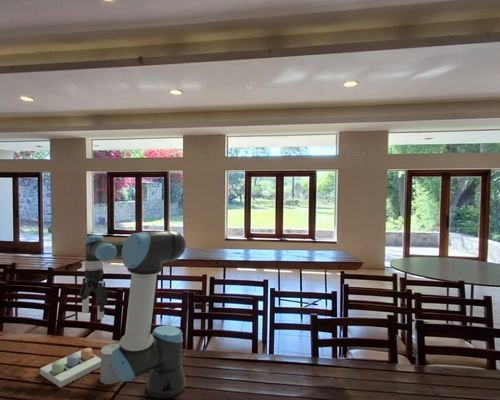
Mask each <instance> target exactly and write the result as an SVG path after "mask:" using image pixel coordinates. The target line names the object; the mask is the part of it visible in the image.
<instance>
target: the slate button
mask: <svg viewBox="0 0 500 400" xmlns="http://www.w3.org/2000/svg"><path fill="white" fill-rule="evenodd" d="M67 356H68V357H67ZM67 356H66V357H67V367H68V368H69V369H71V368H73V367H75V366H77V365H79V354H74V353H71V354H70V355H67Z"/></svg>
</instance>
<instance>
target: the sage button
mask: <svg viewBox="0 0 500 400" xmlns="http://www.w3.org/2000/svg"><path fill="white" fill-rule="evenodd" d="M53 362H54V363H53ZM53 362H51V363H52V375H53V376H56V375H58V374H60V373H62V372H64V360H60V359H58V360H56V361H53Z"/></svg>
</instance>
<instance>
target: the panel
mask: <svg viewBox="0 0 500 400" xmlns="http://www.w3.org/2000/svg"><path fill="white" fill-rule="evenodd" d="M81 350H82V349H80V350H79V351H76V352H74V353H73V354H79V365H77V366H75V367H73V368H71V369H69V368H68V367H67V357H68V356H69V355H67V356H65V357H63V358H61V359H59V360H64V372H62V373H60V374H58V375H56V376H53V375H52V363H54V362H55V361H53V362H51V363H49V364H47V365H45V366H43V367H40V368H39V375H40V376H42V377H43V378H45V379H46V380H48V381H49V382H51V383H53V384H54V385H56V386H57V387H59V388H63V387H65V386H67V385H68V384H70V383H73V382H74V381H76V380H78V379H80V378H82V377H85V376H86V375H88V374H90V373H91V371H92V372H93V370H94V371H95V370H97V369H99V368H101V357H99V356H97V355H95V354H94V353H92V358H91V359H89V360H87V361H85V362H83V361H81ZM72 381H73V382H72Z"/></svg>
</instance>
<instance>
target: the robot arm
mask: <svg viewBox="0 0 500 400" xmlns="http://www.w3.org/2000/svg"><path fill="white" fill-rule="evenodd" d="M84 245H85V247H84V249H85V250H84V253H85V254H84V255H85V257H84V258H85V259H84V269H85V270H84V277H82V283H81V288H80V291H79V295H78V297H79V298H81V302H82V306H81V307H82V308H81V313H82V314H86V313H90V311H89V310H90V309H89V308H90V298H89V297H90V294H91V291H93V292H94V293H95V297H96V299H97V302H98V304H97V314H96V316H97V317H96V318H97V320H101V319H104V318H105V305H106V304H108V303H109V299H108V295H107V287H106V281H101V278H102V277H103V276H104V269H103V267H104V262H110V261H112V260H114V259H118V258H122V264H123V265H124V267H125V268H127V272H128V273H130V274H131V276H130V284H129V293H128V294H129V295H128V305H127V313H126V324H125V334H124V335H123V336H122V337H121V338H120V340H119V343H120V346H119V348H116V349H114V350H113V352H112V364H113V368H114V371H115V373H116V375H117V377H118V378H119V379H120V380H121V381H120V382H124V383H125V382H129V381H131V380H135V379H136V378H138V377H140V376H142V375H144V374H146V373H149V372H150V373H149V375H148V379H147V381H146V392H147V394H148V395H149V396H150V397H153V398H155V399H169V398H173V397H175V396H177V395H178V394H180V393H181V392H183V391H184V389H185V387H186V380H187V379H186V374H185V371H184V368H183V367H184V366H183V364H182V362H183V342H184V339H183V335H184V334H183V331H182V330H181V329H180V328H178V327H177V326H173V325H161V326H157V327H155V328H154V329H153V330H151V328H152V319H153V310H154V302H155V294H156V286H157V278H158V277H157V276H158V275H159V274H160V273H161V272H162V269H163V263H168V262H173V261H176V260H178V259H179V258H180V257H181V256H182V255H183V254H185V250H186V248H187V243H186V239H185V237H184V236H183V235H182V234H181V233H180V232H178V231H175V230H172V229H171V230H170V229H169V230H158V231H157V230H156V231H155V230H154V231H140V232H136V233H131V234H130V235H128V237H126V238H125V240H122V241H121V240H120V241H119V240H117V241H107V242H105V237H104V236H103V235H99V234H96V235H95V234H93V235H88V236H86V238H85V244H84ZM151 331H152V333H151Z"/></svg>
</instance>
